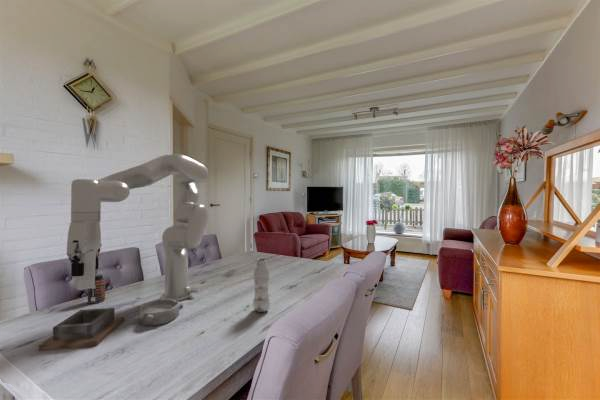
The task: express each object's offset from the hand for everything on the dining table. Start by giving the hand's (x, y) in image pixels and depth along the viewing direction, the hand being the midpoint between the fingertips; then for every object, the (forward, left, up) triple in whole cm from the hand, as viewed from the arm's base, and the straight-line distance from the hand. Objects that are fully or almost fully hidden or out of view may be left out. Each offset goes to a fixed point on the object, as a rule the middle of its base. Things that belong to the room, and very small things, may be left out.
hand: (85, 272), depth 87 cm
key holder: (0, 0, -20) cm, 20 cm away
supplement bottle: (+12, -30, -20) cm, 38 cm away
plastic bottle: (-57, -9, -20) cm, 61 cm away
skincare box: (0, 0, -5) cm, 5 cm away
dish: (-20, -9, -20) cm, 30 cm away
